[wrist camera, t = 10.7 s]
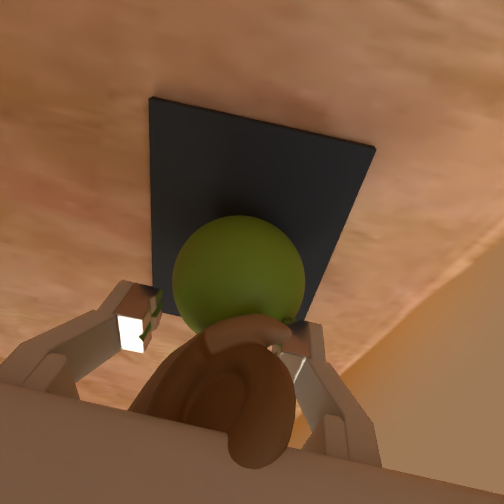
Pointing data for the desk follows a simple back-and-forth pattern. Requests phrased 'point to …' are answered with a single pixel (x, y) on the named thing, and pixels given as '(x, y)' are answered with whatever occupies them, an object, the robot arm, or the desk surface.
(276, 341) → the snail figurine
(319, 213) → the mat
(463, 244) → the desk surface
